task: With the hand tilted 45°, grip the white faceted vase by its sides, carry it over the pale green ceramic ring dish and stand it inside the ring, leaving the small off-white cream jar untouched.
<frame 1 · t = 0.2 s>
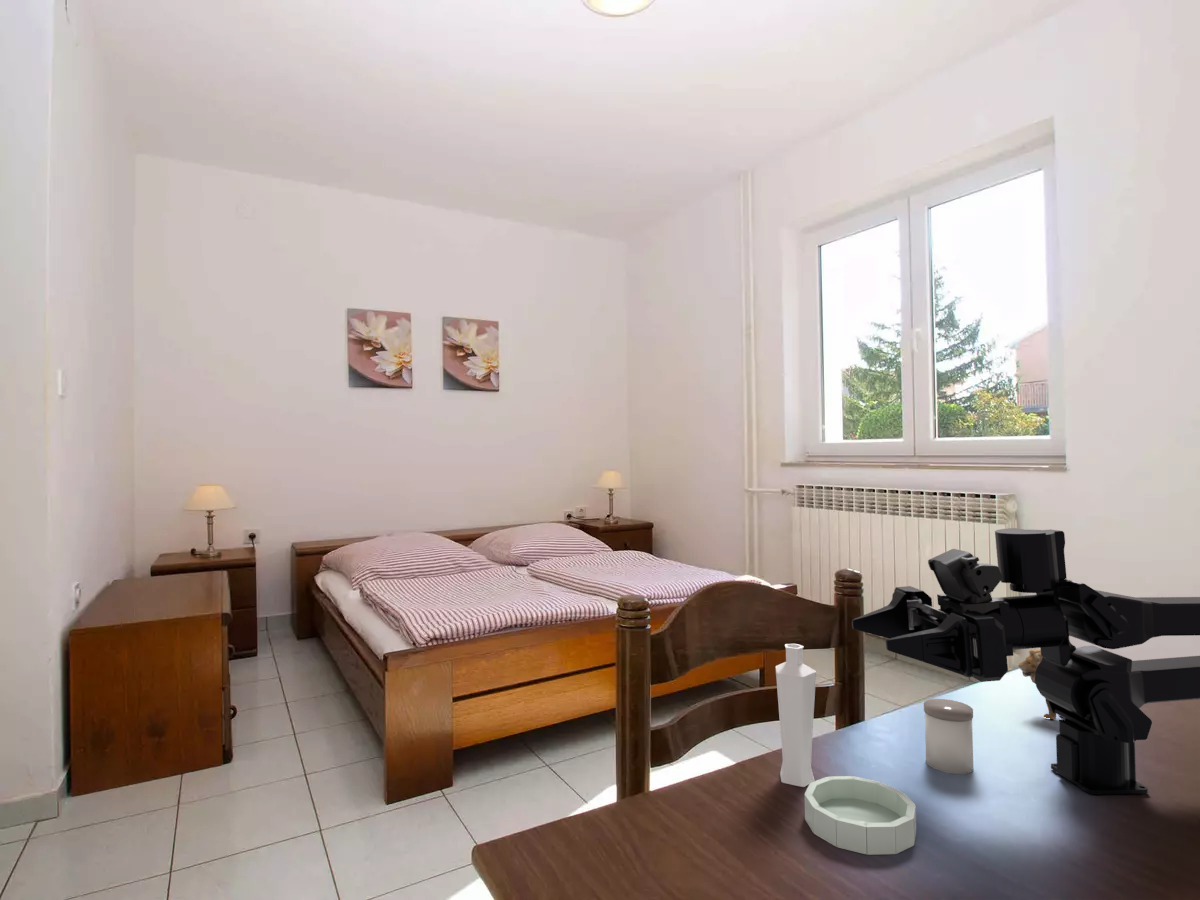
hand: (868, 634, 75), 17 cm above the table, tool horizontal, fingers open, 9 cm apart
white faceted vase: (797, 780, 76), on the table
lion figurine: (1067, 727, 91), on the table
ring dish: (859, 825, 66), on the table
cream jar: (949, 764, 80), on the table
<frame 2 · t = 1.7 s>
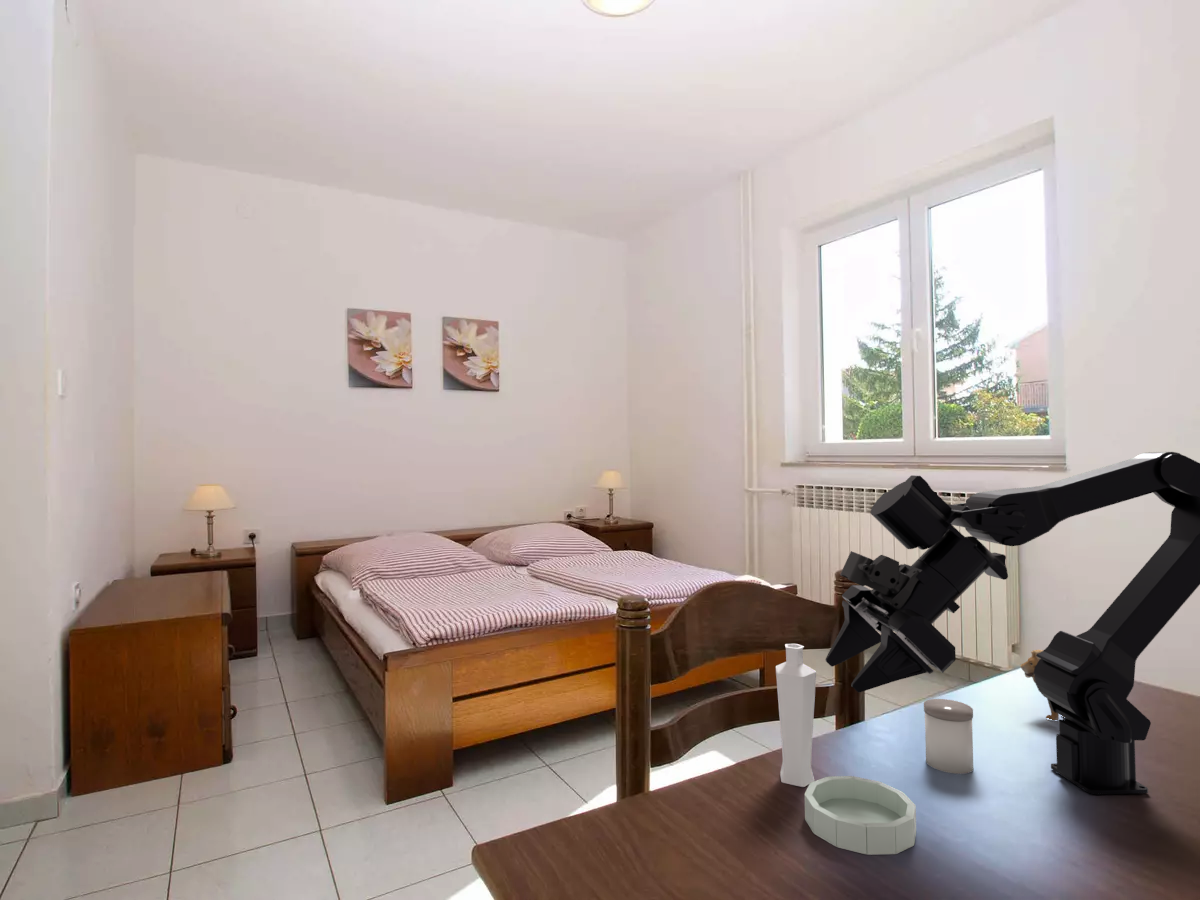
hand: (840, 675, 76), 12 cm above the table, tool tilted 45°, fingers open, 9 cm apart
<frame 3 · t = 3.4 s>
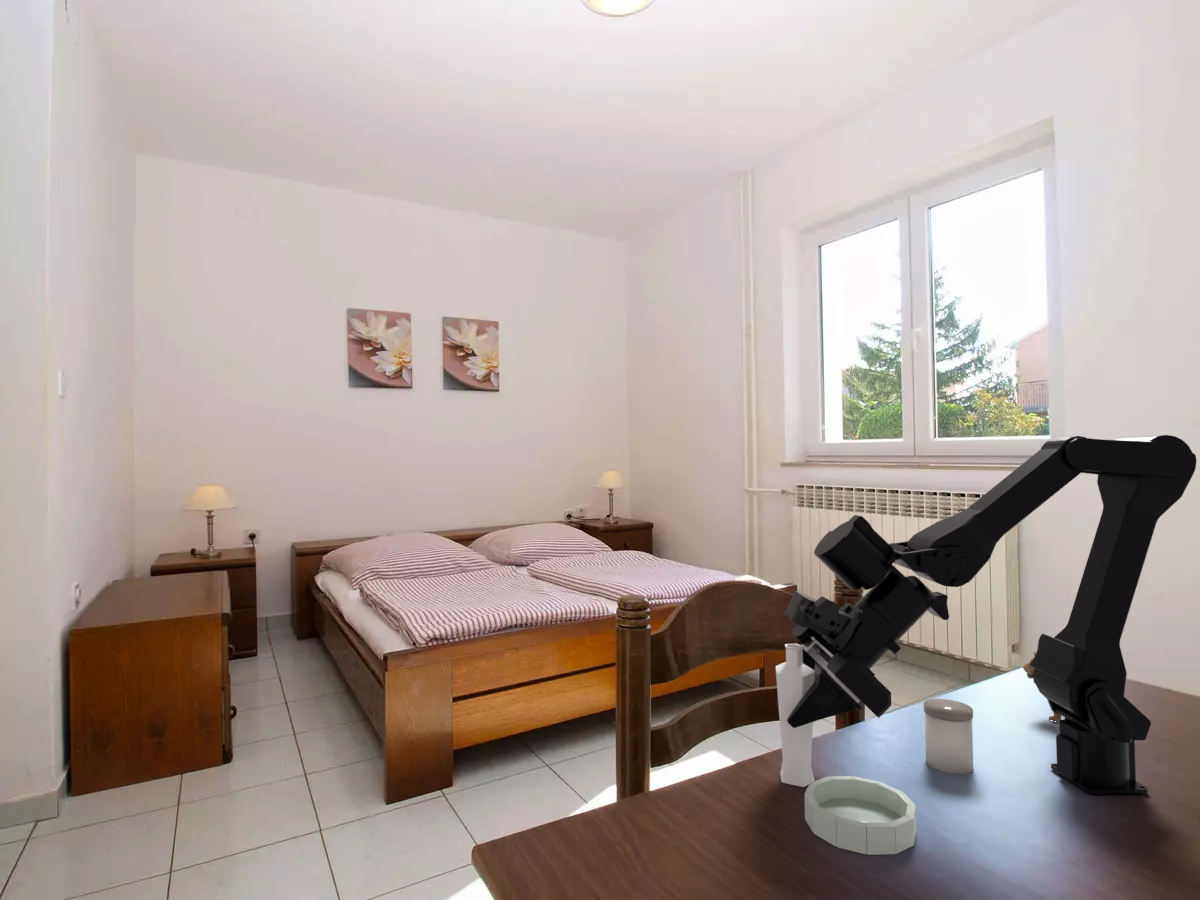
hand: (784, 715, 77), 7 cm above the table, tool tilted 45°, fingers closed on white faceted vase, 5 cm apart
white faceted vase: (797, 780, 76), on the table, touching gripper
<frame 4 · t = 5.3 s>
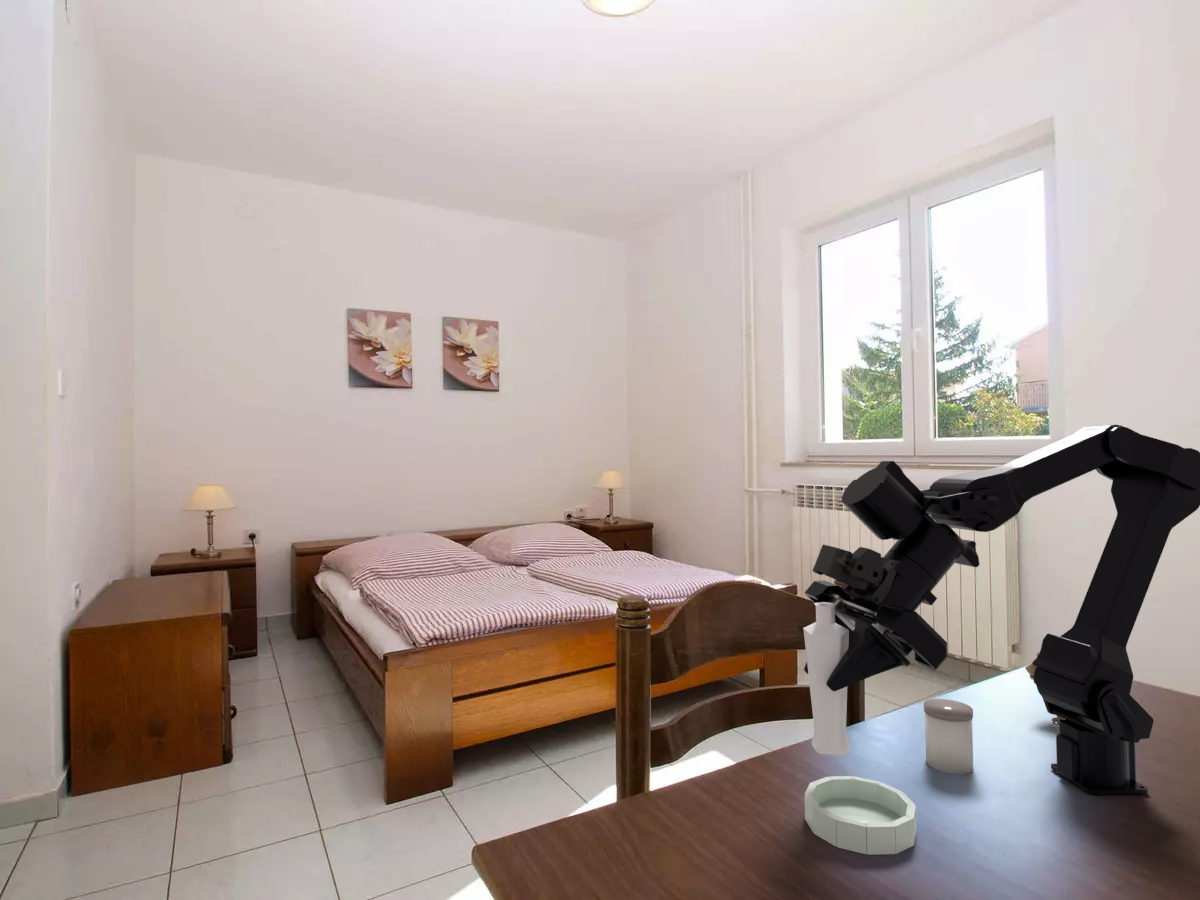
hand: (818, 680, 70), 13 cm above the table, tool tilted 45°, fingers closed on white faceted vase, 4 cm apart
white faceted vase: (832, 749, 70), point 6 cm above the table, touching gripper
when the fingers open (9 cm above the table, at t = 7.0 s): white faceted vase drops 1 cm, resting on ring dish.
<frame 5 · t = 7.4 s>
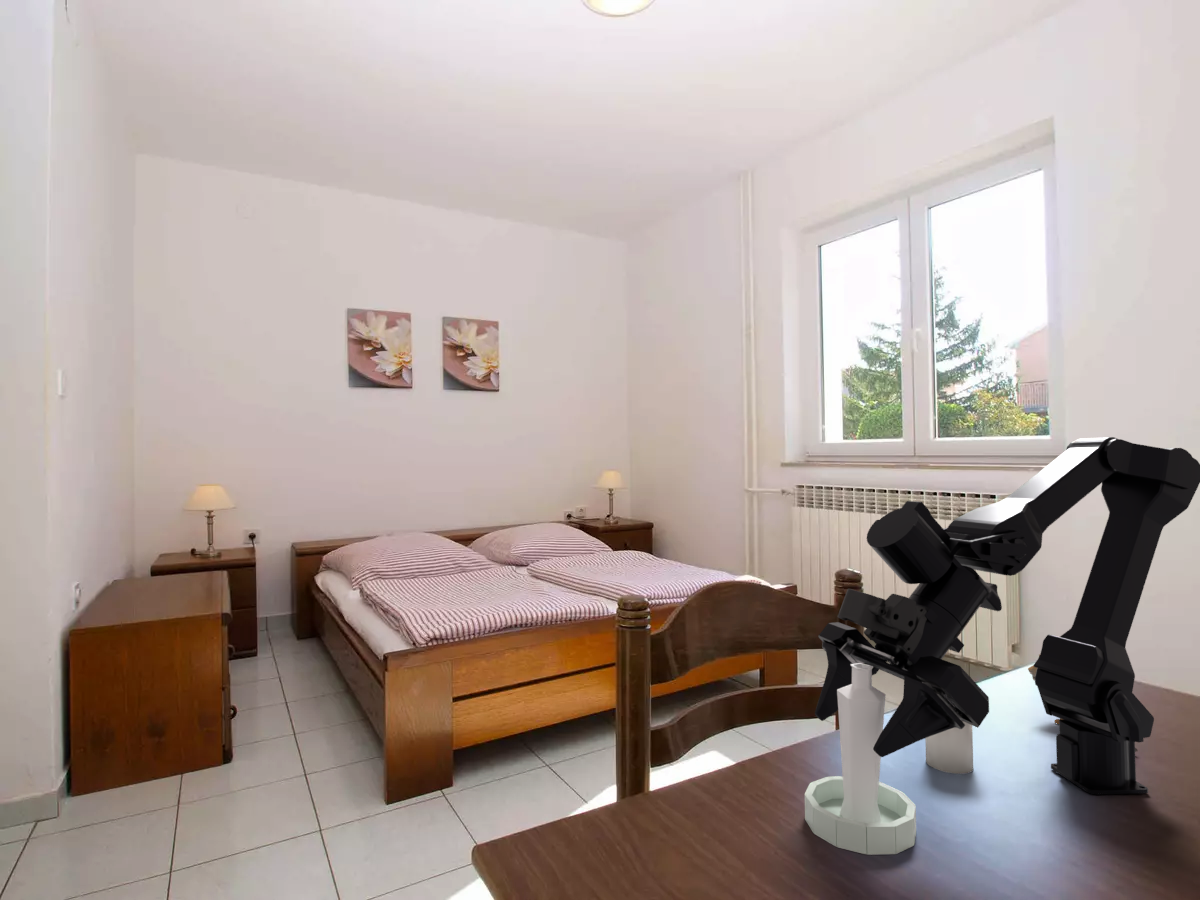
hand: (845, 734, 66), 9 cm above the table, tool tilted 45°, fingers open, 9 cm apart
white faceted vase: (862, 820, 67), resting on ring dish
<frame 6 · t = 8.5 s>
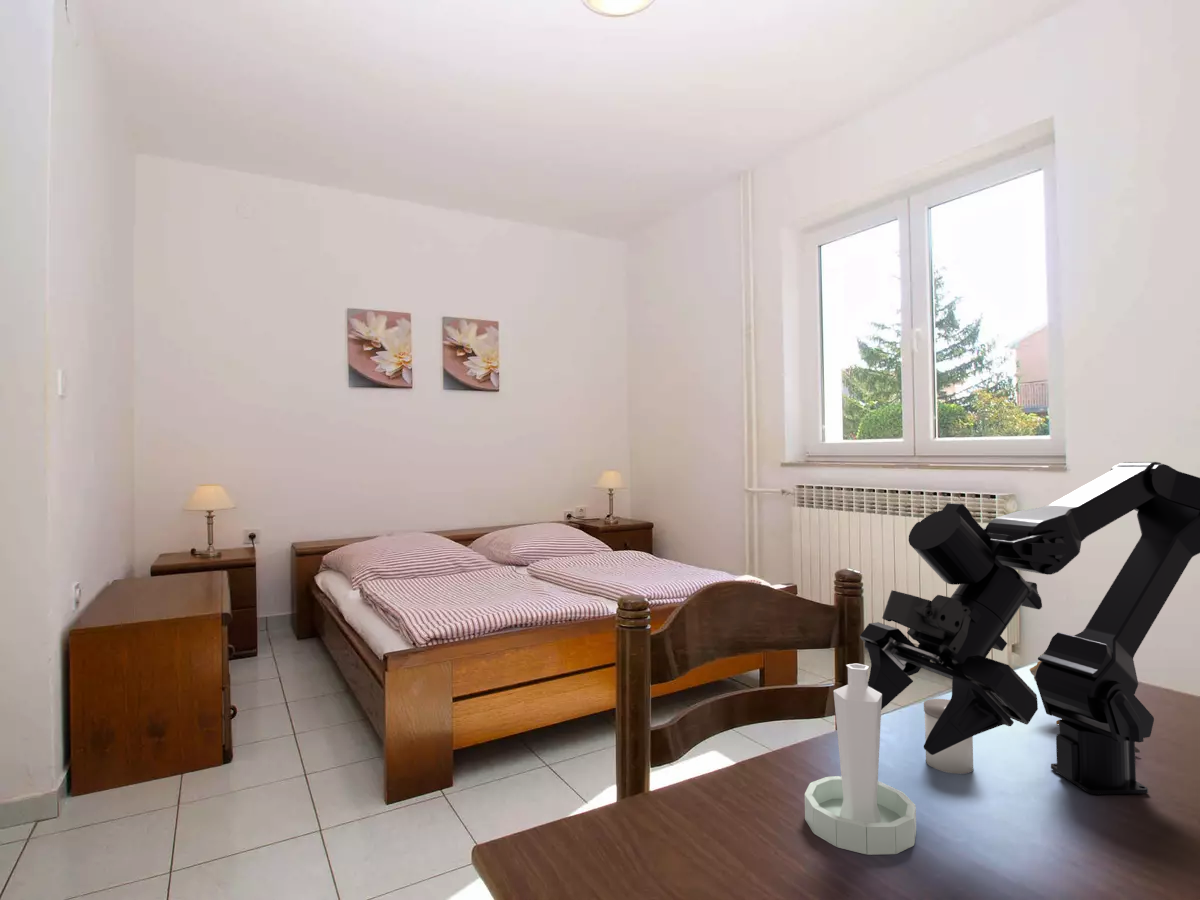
hand: (893, 733, 68), 9 cm above the table, tool tilted 45°, fingers open, 9 cm apart
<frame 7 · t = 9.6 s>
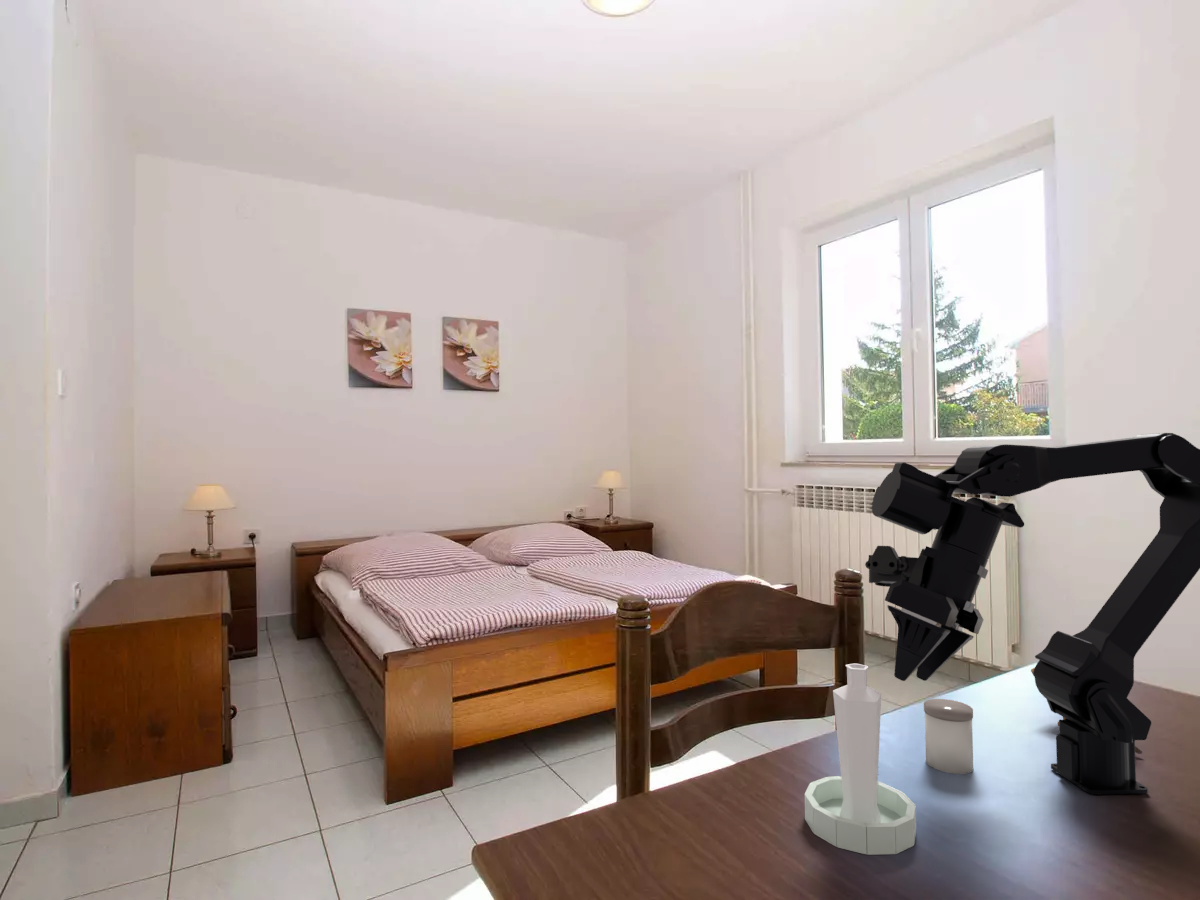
hand: (910, 679, 76), 11 cm above the table, tool tilted 20°, fingers open, 9 cm apart
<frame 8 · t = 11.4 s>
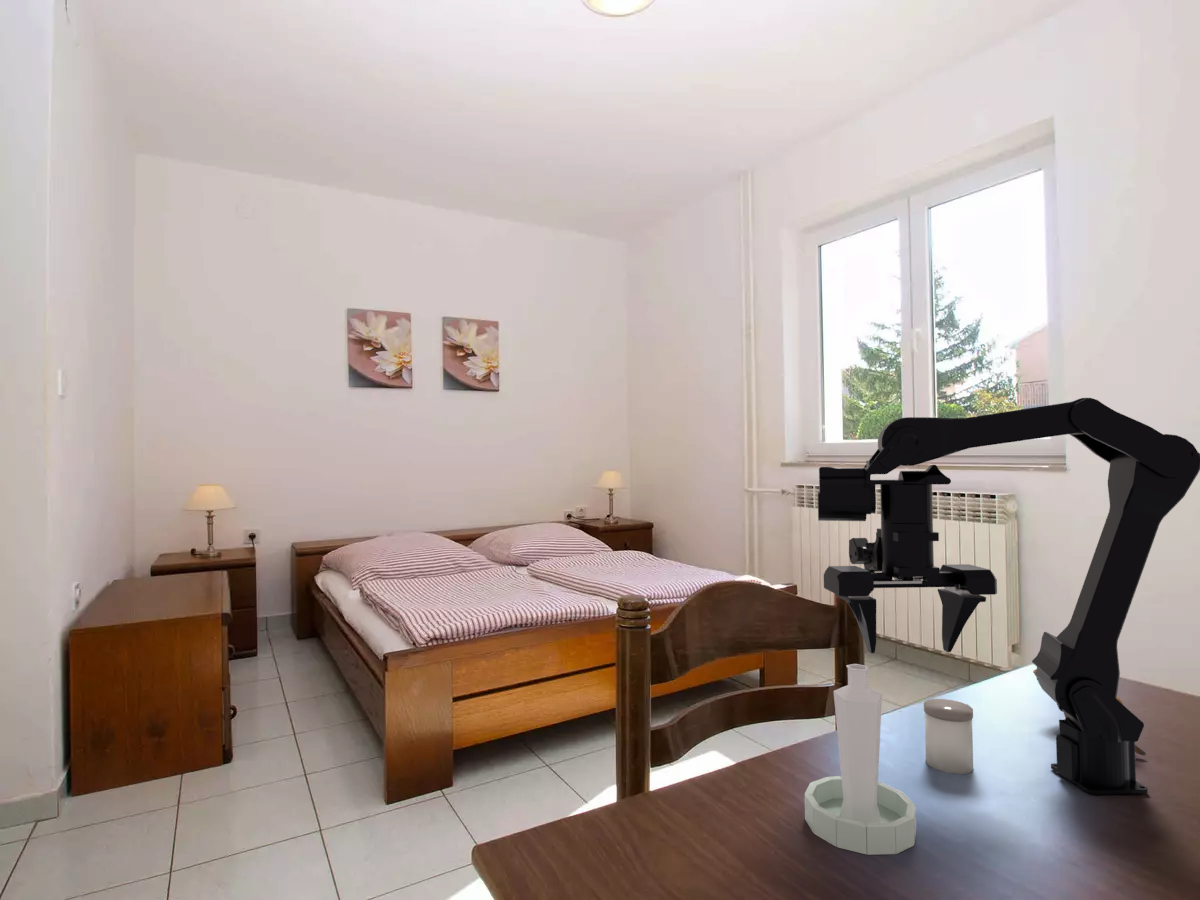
hand: (909, 651, 81), 13 cm above the table, tool pointing down, fingers open, 9 cm apart
at the end: white faceted vase 0.4 cm from the ring dish (horizontally); white faceted vase tilted 0°; white faceted vase resting on ring dish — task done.
